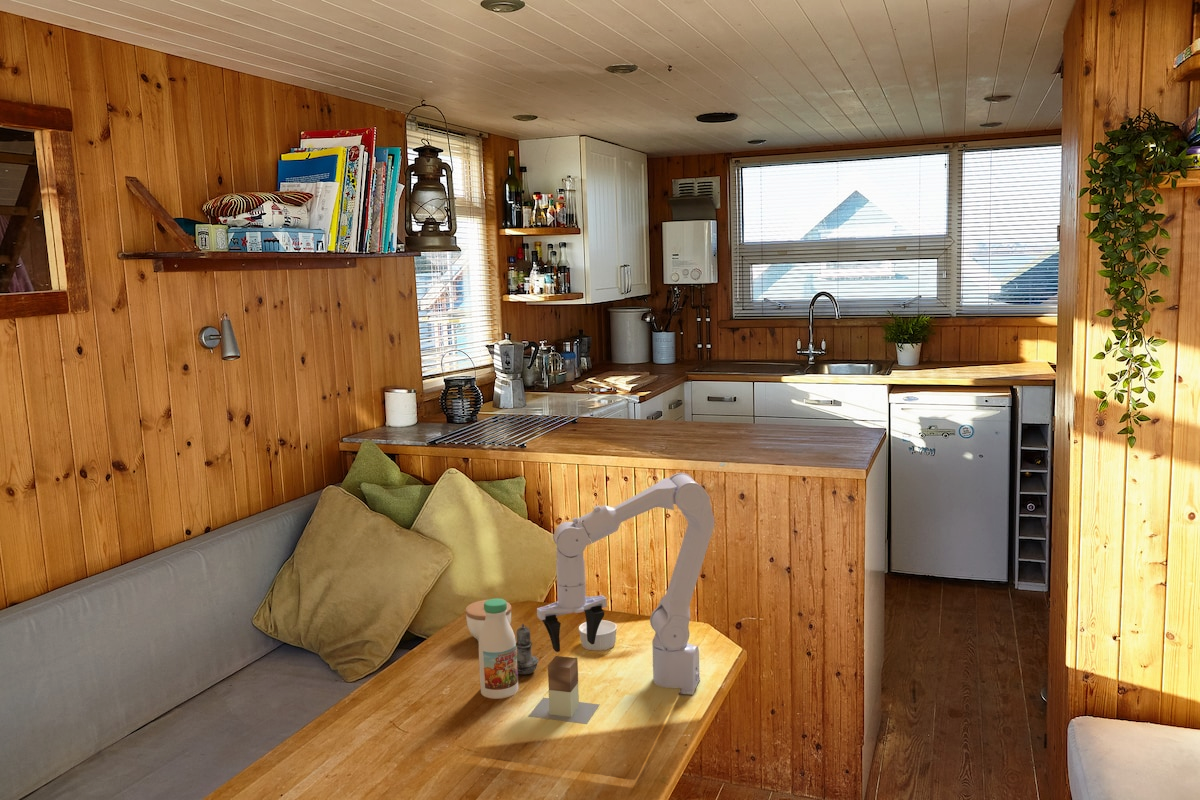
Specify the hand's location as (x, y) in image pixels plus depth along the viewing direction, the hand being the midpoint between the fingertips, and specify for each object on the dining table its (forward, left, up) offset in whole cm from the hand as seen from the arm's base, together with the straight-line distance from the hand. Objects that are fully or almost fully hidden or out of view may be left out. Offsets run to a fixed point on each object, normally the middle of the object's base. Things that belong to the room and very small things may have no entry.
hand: (573, 646), depth 191 cm
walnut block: (-1, +9, -4) cm, 10 cm away
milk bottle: (+15, +4, -11) cm, 19 cm away
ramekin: (+3, -25, -11) cm, 27 cm away
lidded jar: (+29, -22, -11) cm, 38 cm away
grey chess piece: (+13, -5, -11) cm, 18 cm away
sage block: (-1, +9, -9) cm, 13 cm away
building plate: (-1, +9, -10) cm, 14 cm away
